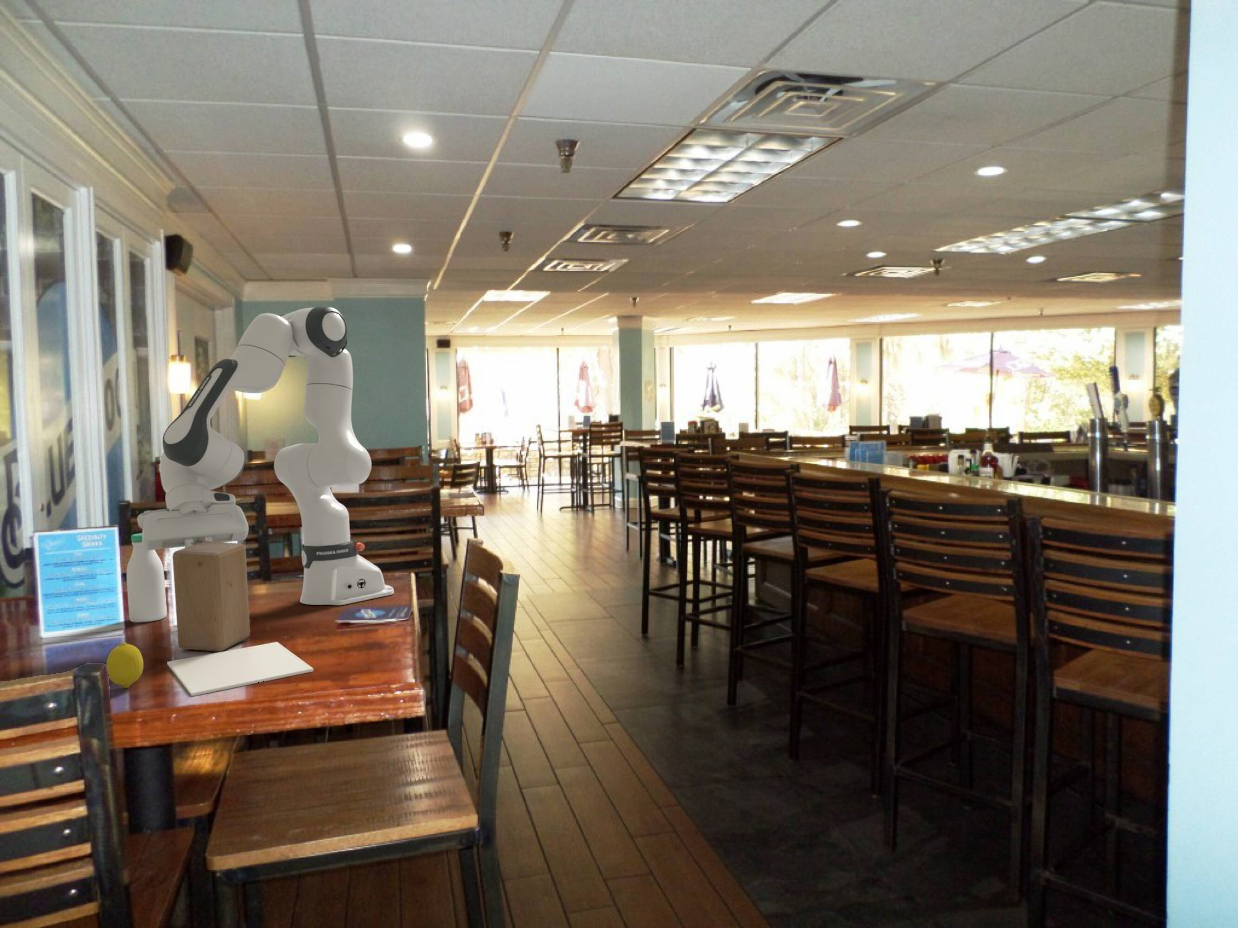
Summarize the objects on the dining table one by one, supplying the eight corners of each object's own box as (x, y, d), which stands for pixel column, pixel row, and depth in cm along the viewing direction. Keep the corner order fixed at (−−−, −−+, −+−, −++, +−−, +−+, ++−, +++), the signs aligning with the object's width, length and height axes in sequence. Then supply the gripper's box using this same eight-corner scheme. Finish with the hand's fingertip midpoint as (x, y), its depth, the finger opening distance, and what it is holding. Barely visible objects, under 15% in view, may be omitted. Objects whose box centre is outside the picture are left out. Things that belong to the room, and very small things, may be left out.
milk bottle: (168, 619, 201) (162, 533, 200) (130, 625, 197) (124, 537, 196) (165, 613, 208) (159, 530, 206) (128, 618, 204) (122, 533, 202)
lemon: (151, 682, 153) (148, 637, 153) (132, 692, 148) (129, 646, 147) (121, 683, 154) (117, 638, 153) (101, 693, 148) (97, 647, 148)
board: (277, 644, 176) (277, 641, 176) (313, 671, 157) (313, 668, 157) (167, 664, 164) (167, 661, 164) (191, 696, 145) (191, 693, 145)
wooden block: (221, 653, 171) (215, 554, 168) (176, 649, 173) (169, 551, 170) (252, 636, 180) (247, 542, 178) (209, 633, 182) (203, 540, 180)
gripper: (136, 502, 179) (146, 554, 172) (242, 494, 191) (255, 543, 184) (135, 521, 183) (144, 574, 176) (238, 512, 195) (251, 561, 188)
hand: (202, 558), depth 180 cm, fingers closed
